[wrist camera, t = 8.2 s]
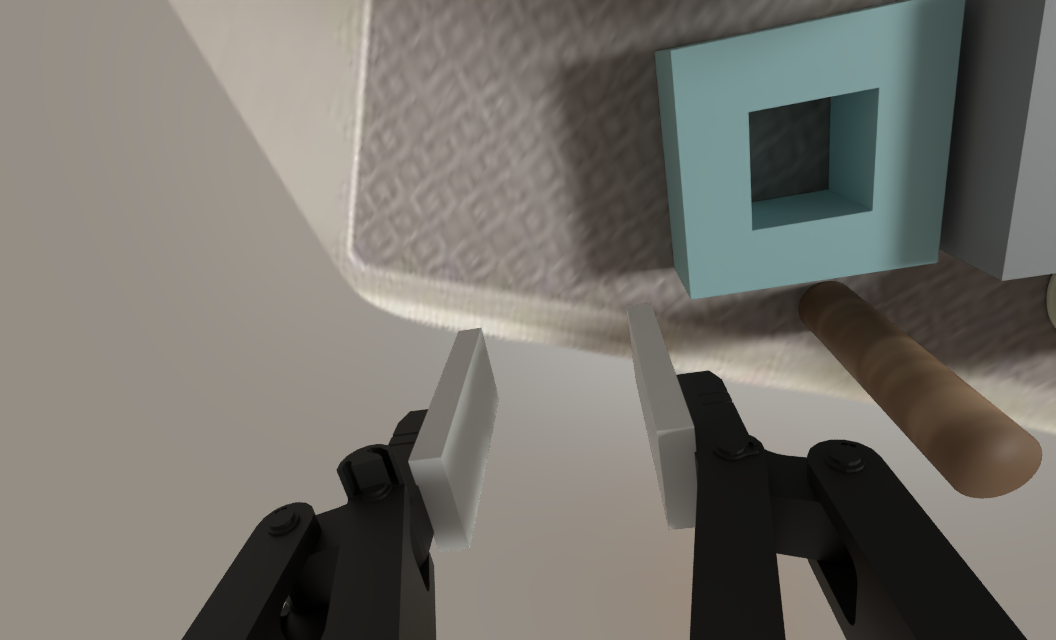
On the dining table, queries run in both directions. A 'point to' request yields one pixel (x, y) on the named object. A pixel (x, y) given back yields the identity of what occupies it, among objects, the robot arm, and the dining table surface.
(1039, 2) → the wall
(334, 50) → the dining table surface
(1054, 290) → the can
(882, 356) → the dowel
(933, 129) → the block
